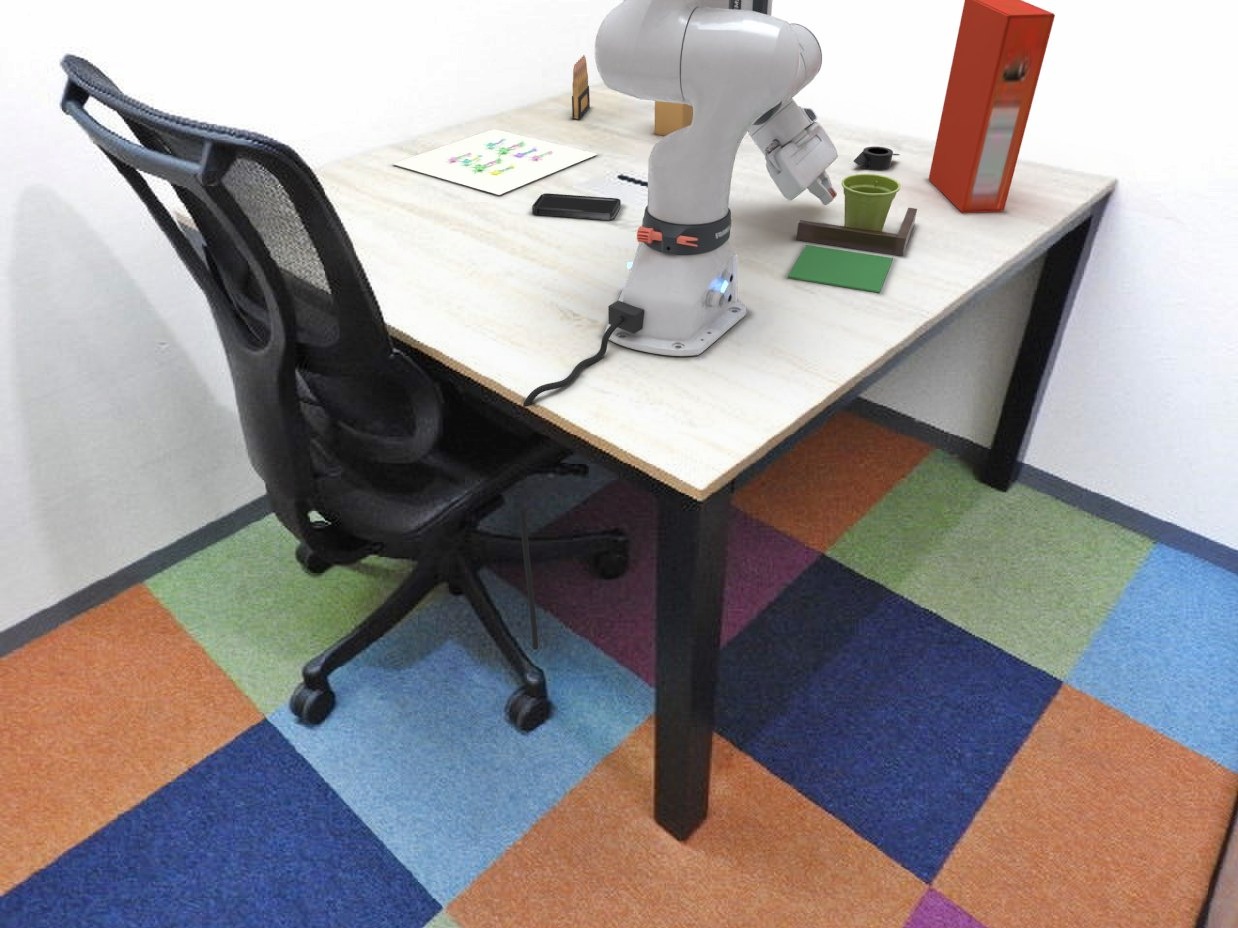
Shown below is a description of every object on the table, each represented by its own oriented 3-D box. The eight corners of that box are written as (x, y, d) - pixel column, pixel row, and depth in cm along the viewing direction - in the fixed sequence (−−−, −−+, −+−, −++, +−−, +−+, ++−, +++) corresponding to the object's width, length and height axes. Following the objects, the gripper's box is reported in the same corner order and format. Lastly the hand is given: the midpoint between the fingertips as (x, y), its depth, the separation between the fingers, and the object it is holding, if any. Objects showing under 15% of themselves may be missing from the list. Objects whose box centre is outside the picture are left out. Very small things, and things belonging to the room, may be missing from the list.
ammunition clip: (580, 120, 202) (578, 64, 195) (572, 119, 202) (570, 64, 195) (589, 107, 210) (588, 54, 203) (582, 107, 211) (580, 54, 203)
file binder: (959, 213, 155) (1007, 14, 136) (926, 180, 169) (965, -5, 150) (1003, 212, 155) (1057, 14, 136) (967, 179, 169) (1011, -5, 150)
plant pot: (891, 247, 143) (902, 195, 138) (833, 242, 145) (841, 191, 140) (889, 225, 151) (899, 175, 145) (834, 221, 152) (841, 172, 147)
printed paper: (499, 196, 162) (498, 189, 161) (391, 165, 177) (390, 158, 176) (598, 155, 181) (598, 148, 180) (494, 130, 196) (493, 123, 195)
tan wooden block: (602, 138, 191) (599, -85, 166) (659, 114, 206) (663, -94, 181) (692, 156, 180) (703, -79, 155) (744, 129, 195) (762, -89, 170)
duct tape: (848, 158, 179) (850, 144, 177) (897, 160, 178) (900, 145, 177) (852, 171, 173) (855, 156, 171) (904, 172, 172) (906, 157, 171)
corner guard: (902, 256, 140) (906, 238, 138) (795, 240, 146) (798, 223, 144) (913, 225, 151) (917, 208, 149) (813, 211, 156) (816, 195, 154)
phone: (542, 193, 160) (621, 198, 158) (542, 199, 161) (621, 204, 158) (530, 208, 154) (612, 214, 152) (530, 214, 155) (612, 220, 152)
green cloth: (879, 293, 130) (879, 291, 129) (787, 278, 134) (787, 276, 134) (892, 259, 139) (892, 258, 139) (806, 246, 143) (806, 244, 143)
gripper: (776, 138, 135) (828, 210, 137) (815, 106, 149) (862, 172, 152) (746, 163, 139) (797, 232, 142) (788, 129, 154) (833, 193, 156)
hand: (831, 200), depth 147 cm, fingers closed
